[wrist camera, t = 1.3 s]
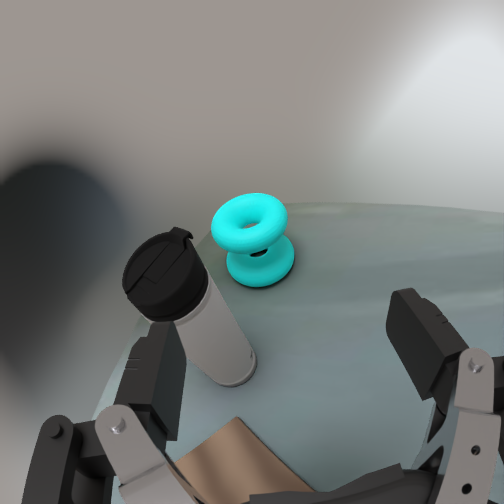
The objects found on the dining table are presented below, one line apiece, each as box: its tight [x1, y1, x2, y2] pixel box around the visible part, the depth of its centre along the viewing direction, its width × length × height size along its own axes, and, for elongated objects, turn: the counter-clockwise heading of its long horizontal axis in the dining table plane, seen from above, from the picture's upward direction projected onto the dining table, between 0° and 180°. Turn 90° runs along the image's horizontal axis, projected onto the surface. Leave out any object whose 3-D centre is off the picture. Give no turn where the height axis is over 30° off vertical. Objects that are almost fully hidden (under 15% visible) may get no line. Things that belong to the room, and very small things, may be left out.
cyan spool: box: [211, 193, 294, 287], centre depth 40 cm, size 10×10×10 cm
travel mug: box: [122, 227, 257, 387], centre depth 26 cm, size 6×7×20 cm
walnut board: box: [175, 416, 316, 504], centre depth 22 cm, size 14×14×1 cm
